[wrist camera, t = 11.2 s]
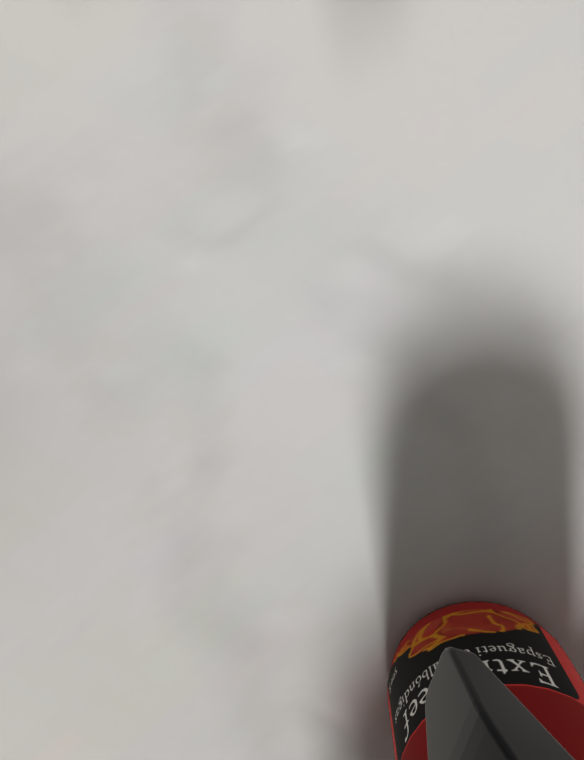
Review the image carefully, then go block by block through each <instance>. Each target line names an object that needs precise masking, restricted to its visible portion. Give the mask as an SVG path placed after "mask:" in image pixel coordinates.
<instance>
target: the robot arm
mask: <svg viewBox="0 0 584 760" xmlns="http://www.w3.org/2000/svg"><path fill="white" fill-rule="evenodd" d="M425 714H426V732H427V749H428V760H575V759H574V758H573V757H572V756H571V755H570V754H569V753H568V752H567V751H566V750H565V749H564V748H563V746H562V745H561V744H560V743H559V742H558V741H557V740H556V739H555V738H554V737H553V736H552V735H551V734H550V733H549V732H548V731H547V730H546V728H545V727H544V726H543V725H542V724H541V723H540V722H539V721H538V720H537V719H536V718H535V717H534V716H533V715H532V714H531V713H530V711H529V710H528V709H527V708H526V707H525V706H524V705H523V704H522V703H521V702H520V701H519V700H518V699H517V698H516V697H515V696H514V695H513V693H512V692H511V691H510V690H509V689H508V688H507V687H506V686H505V685H504V684H503V683H502V682H501V681H500V680H499V679H498V678H497V677H496V675H495V674H494V673H493V672H492V671H491V670H490V669H489V668H488V667H487V666H486V665H485V664H484V663H483V662H482V661H481V660H480V658H479V657H478V656H477V655H475V654H474V653H472V652H468V651H465V650H461V649H457V648H454V647H448V648H445V650H444V651H443V652H442V654H441V657H440V659H439V662H438V664H437V667H436V670H435V672H434V675H433V677H432V680H431V683H430V685H429V688H428V691H427V695H426V701H425Z"/></svg>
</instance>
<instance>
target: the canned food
mask: <svg viewBox="0 0 584 760" xmlns="http://www.w3.org/2000/svg"><path fill="white" fill-rule="evenodd" d="M448 647H454V648H457V649H461V650H465V651H468V652H472V653H474V654H475V655H477V656H478V657H479V658H480V660H481V661H482V662H483V663H484V664H485V665H486V666H487V667H488V668H489V669H490V670H491V671H492V672H493V673H494V674H495V675H496V677H497V678H498V679H499V680H500V681H501V682H502V683H503V684H504V685H505V686H506V687H507V688H508V689H509V690H510V691H511V692H512V693H513V695H514V696H515V697H516V698H517V699H518V700H519V701H520V702H521V703H522V704H523V705H524V706H525V707H526V708H527V709H528V710H529V711H530V713H531V714H532V715H533V716H534V717H535V718H536V719H537V720H538V721H539V722H540V723H541V724H542V725H543V726H544V727H545V728H546V730H547V731H548V732H549V733H550V734H551V735H552V736H553V737H554V738H555V739H556V740H557V741H558V742H559V743H560V744H561V745H562V746H563V748H564V749H565V750H566V751H567V752H568V753H569V754H570V755H571V756H572V757H573V758H574V759H575V760H584V683H583V681H582V679H581V678H580V676H579V674H578V673H577V671H576V669H575V668H574V666H573V664H572V663H571V661H570V659H569V658H568V656H567V655H566V653H565V652H564V650H563V649H562V648H561V646H560V645H559V643H558V642H557V641H556V640H555V639H554V638H553V637H552V636H551V635H550V634H549V633H548V632H547V631H545V630H544V629H543V628H542V627H541V626H540V625H538V624H537V623H536V622H535V621H533V620H532V619H531V618H529V617H527V616H526V615H524V614H522V613H521V612H519V611H517V610H514V609H512V608H509V607H506V606H503V605H500V604H494V603H488V602H464V603H459V604H454V605H449V606H447V607H444V608H441V609H439V610H436V611H434V612H432V613H431V614H429V615H427V616H426V617H424V618H422V619H421V620H419V621H418V622H417V623H416V624H415V625H414V626H413V627H412V628H411V629H410V630H409V631H408V632H407V633H406V635H405V636H404V638H403V639H402V640H401V642H400V643H399V645H398V648H397V650H396V652H395V655H394V657H393V661H392V665H391V669H390V674H389V680H388V685H387V687H388V705H389V713H390V721H391V729H392V736H393V744H394V752H395V760H428V749H427V732H426V714H425V701H426V695H427V691H428V688H429V685H430V683H431V680H432V677H433V675H434V672H435V670H436V667H437V664H438V662H439V659H440V657H441V654H442V652H443V651H444V650H445V648H448Z"/></svg>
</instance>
